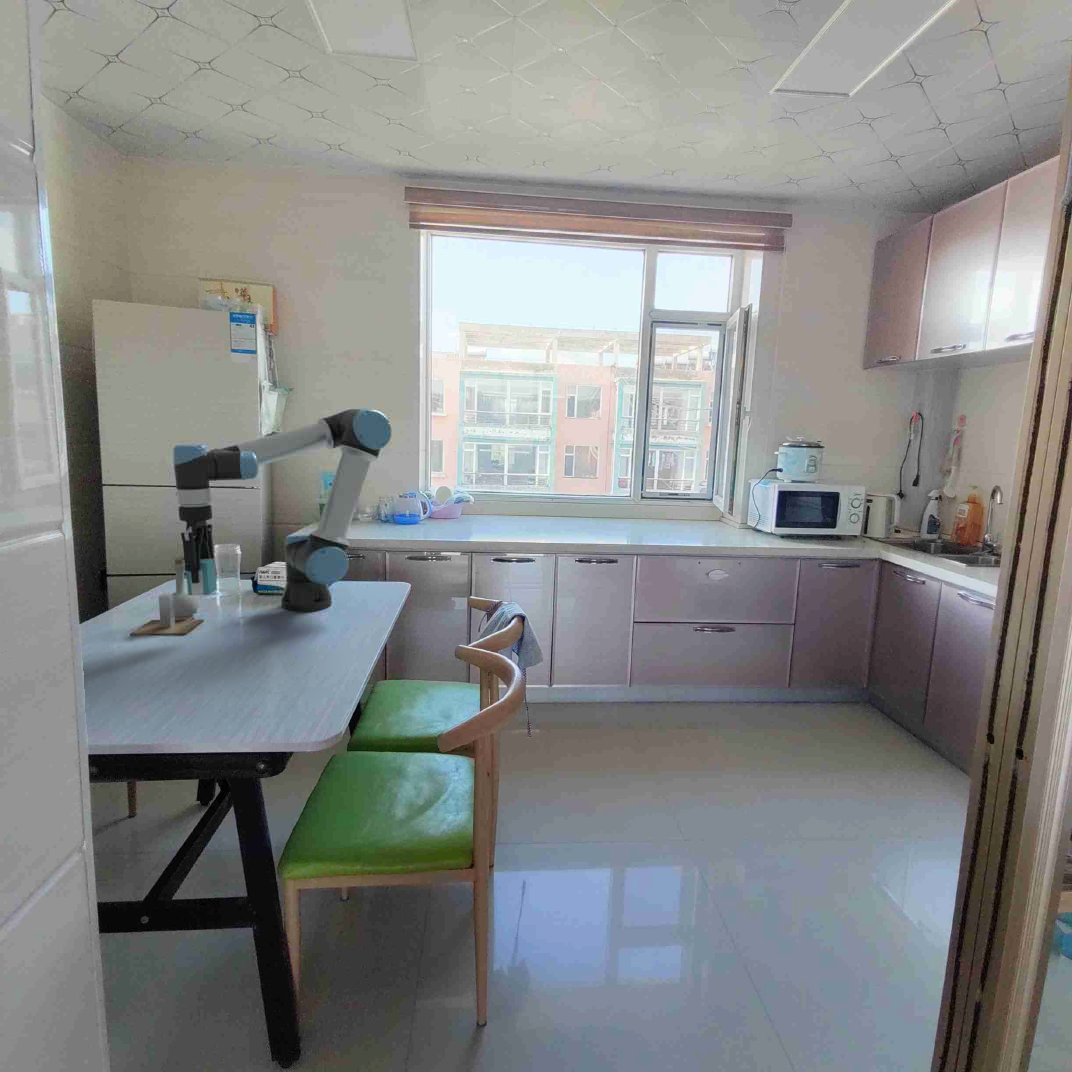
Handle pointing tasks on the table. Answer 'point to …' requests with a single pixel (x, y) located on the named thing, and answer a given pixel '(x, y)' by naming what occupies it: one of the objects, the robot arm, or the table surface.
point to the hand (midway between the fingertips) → (202, 591)
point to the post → (166, 610)
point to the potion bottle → (182, 594)
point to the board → (155, 628)
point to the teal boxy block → (205, 577)
